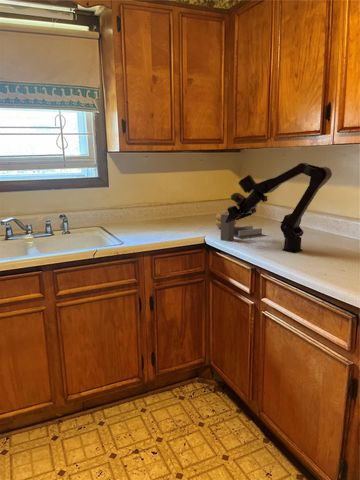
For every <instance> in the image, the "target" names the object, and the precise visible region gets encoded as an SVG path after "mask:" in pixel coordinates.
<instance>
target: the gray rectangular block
mask: <svg viewBox="0 0 360 480" xmlns="http://www.w3.org/2000/svg"><path fill="white" fill-rule="evenodd" d="M228 215H229V213H224V214H221V228H220V241H225V242H230V241H232V240H233V241H234V238H235V237H234V228H235V226H234V221H231V222H229V223H226V222H225V221H226V219H227V217H228Z"/></svg>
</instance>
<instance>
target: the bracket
mask: <svg viewBox="0 0 360 480" xmlns="http://www.w3.org/2000/svg"><path fill="white" fill-rule="evenodd" d="M265 236H266V235H265V234H264V233H263V229H262V227H261V228H254V226H253V225H246V226H234V238H237V239H241V240H244V239H250V238H258V237H265Z"/></svg>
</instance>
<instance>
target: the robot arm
mask: <svg viewBox="0 0 360 480" xmlns="http://www.w3.org/2000/svg"><path fill="white" fill-rule="evenodd" d="M302 174H303V175H305V176H307V177H310V179H309V184H308V186H307V188H306V190H305V191H304V192H303V194H302V196H301V197H300V199H299V201H298V203H297V204H296V206H295V208H294V209H293V211H292V213H288V214H286V215H284V217H283V218H282V220H281V222H280V225H279V227H280V230H281V232H282V233H283V237H284V240H283V241H284V243H283V248H282V249H281V250H282V251H284V252H285V251H286V252H289V253H293V254H295V253H299V252H303V251H304V250H303V249H302V236H303V235H304V230H303V229H302V228H301V227H300V226H301V225H300V224H301V222H302V217H303V216H304V214H305V213H306V210H307V209H308V207H309V206H310V205H311V203H312V201H313V199H314V198H315V197H316V195H317V194H318V192H319V191H320V189H321V188H322V187H323V186H324V185H325V184H326V183H328V182H329V181H330V179H331V178H332V176H333V173H332V170H331V168H329V167H328V166H322V167H321V166H318V165H312V164H309V163H306V162H300V163H299V164H297V165H295V166H294V167H292V168H290V169H288V170H286V171H285V172H282V173H280V174H279V175H277V176H275V177H272V178H269V179H268V178H267V179H265V180H261V181H260V182H256V181H255V180H254V178H253V177H252V175H251V174H248V175H246V176H245V177H244V178H242V179H240V180H239V181H238V186H240V188H241V189H242V191H244V193H245V194H249V195H248V196H247V197H246V196H244V195H243V194H241V193H239V192H234V193H232V195H230V200H231V201H234V202H235V203H236V205H230V206H228V208H227V210H226V211H227V212H229V215H228V217H227V219H226V221H225V222H226V223H229V222H231V221H234V220H235V221H239V220H241V219H245V218H247V217H251V216H252V215H255V213H256V212H257V207H258V206H257V205H258V204H259V203H261V202H262V203H266V202H268V195H266V194H269V193H273V192H275V190H277V189H278V188H279V187H280V186H281V185H283V184H285V183H286V182H289V181H291V180H293V179H294V178H296V177H298V176H300V175H302Z"/></svg>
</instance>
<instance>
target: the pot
mask: <svg viewBox="0 0 360 480" xmlns="http://www.w3.org/2000/svg"><path fill="white" fill-rule="evenodd" d="M224 213H229V212H228V210H225V211H221V212H218V213H217V214H216V215H215V219H216V220H215V225H216V226H217V228H219V229H221V214H224ZM236 225H237V220H234V227H236Z"/></svg>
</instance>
